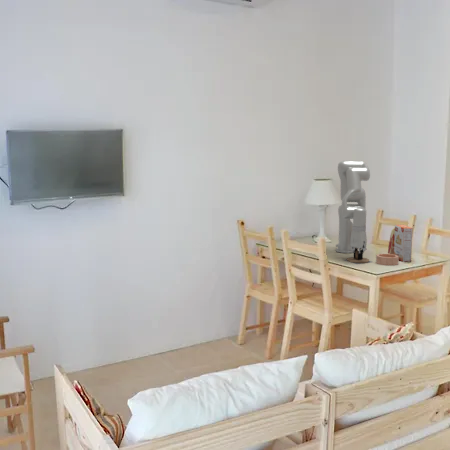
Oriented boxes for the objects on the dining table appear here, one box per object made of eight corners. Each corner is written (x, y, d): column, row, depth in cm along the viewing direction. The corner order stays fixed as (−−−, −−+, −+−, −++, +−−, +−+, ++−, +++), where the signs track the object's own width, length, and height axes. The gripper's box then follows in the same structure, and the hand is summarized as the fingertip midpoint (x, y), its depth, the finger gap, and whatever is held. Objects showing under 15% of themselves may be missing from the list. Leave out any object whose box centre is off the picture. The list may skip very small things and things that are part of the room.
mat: (342, 260, 332) (342, 259, 332) (359, 258, 338) (359, 258, 338) (356, 265, 321) (356, 264, 321) (373, 263, 327) (373, 262, 326)
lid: (342, 259, 332) (342, 250, 331) (359, 258, 338) (359, 248, 337) (356, 264, 321) (356, 254, 320) (373, 262, 326) (374, 252, 326)
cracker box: (393, 257, 344) (394, 224, 341) (402, 257, 344) (403, 224, 341) (401, 261, 330) (403, 227, 327) (411, 261, 330) (413, 227, 327)
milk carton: (403, 257, 344) (405, 226, 340) (388, 256, 346) (390, 225, 342) (402, 253, 353) (404, 223, 349) (387, 253, 355) (389, 223, 351)
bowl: (371, 262, 327) (372, 254, 326) (387, 261, 332) (387, 253, 332) (386, 267, 316) (386, 258, 315) (402, 265, 321) (402, 256, 321)
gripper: (345, 227, 332) (344, 257, 335) (363, 231, 318) (362, 262, 320) (355, 226, 335) (353, 255, 338) (373, 230, 321) (372, 260, 324)
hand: (358, 258), depth 329 cm, fingers closed on lid, 3 cm apart
